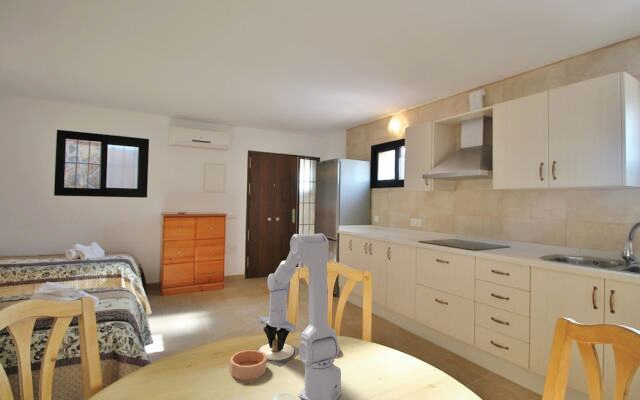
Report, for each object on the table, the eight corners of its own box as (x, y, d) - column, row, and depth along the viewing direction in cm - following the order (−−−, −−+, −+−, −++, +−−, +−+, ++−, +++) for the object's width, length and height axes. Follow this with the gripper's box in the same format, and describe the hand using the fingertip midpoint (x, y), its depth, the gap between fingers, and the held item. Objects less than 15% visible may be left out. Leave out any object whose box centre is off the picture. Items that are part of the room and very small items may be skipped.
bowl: (273, 368, 102) (273, 355, 102) (249, 384, 92) (249, 370, 92) (247, 359, 107) (247, 347, 107) (222, 373, 98) (222, 360, 98)
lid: (300, 350, 114) (300, 338, 114) (279, 364, 104) (280, 351, 104) (273, 341, 120) (273, 330, 120) (251, 354, 110) (251, 342, 110)
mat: (304, 351, 114) (304, 349, 114) (280, 367, 102) (280, 366, 102) (272, 341, 121) (272, 340, 121) (246, 356, 109) (246, 354, 109)
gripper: (301, 309, 112) (300, 349, 112) (268, 302, 119) (267, 339, 119) (290, 315, 106) (288, 357, 106) (255, 307, 113) (254, 346, 113)
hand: (276, 348), depth 112 cm, fingers closed on lid, 3 cm apart
